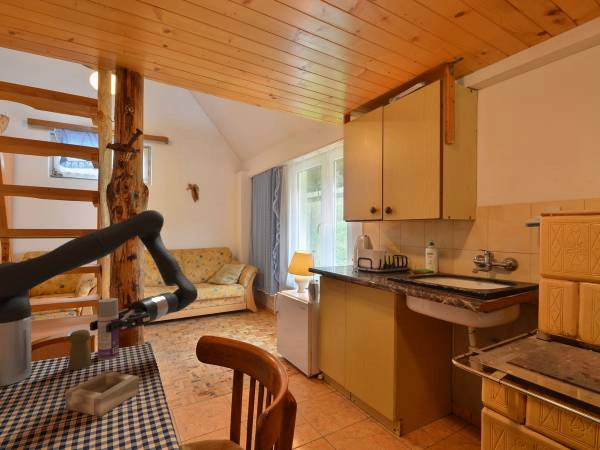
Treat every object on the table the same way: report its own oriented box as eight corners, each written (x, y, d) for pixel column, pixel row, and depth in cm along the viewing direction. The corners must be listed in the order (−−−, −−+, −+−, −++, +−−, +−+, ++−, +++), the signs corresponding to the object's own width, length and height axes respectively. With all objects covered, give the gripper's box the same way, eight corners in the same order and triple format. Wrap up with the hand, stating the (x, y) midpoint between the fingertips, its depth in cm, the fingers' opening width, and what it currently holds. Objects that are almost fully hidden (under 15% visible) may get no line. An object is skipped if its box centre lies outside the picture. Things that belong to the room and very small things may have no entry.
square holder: (65, 408, 73) (65, 391, 73) (106, 385, 83) (106, 370, 83) (100, 416, 70) (100, 399, 70) (138, 391, 80) (138, 376, 80)
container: (113, 351, 84) (113, 297, 84) (122, 355, 81) (121, 299, 81) (94, 357, 80) (94, 300, 80) (102, 362, 77) (102, 303, 77)
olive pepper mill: (78, 371, 91) (79, 334, 92) (62, 369, 93) (62, 333, 93) (96, 362, 97) (96, 328, 97) (80, 361, 99) (80, 327, 99)
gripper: (130, 296, 96) (77, 311, 80) (168, 299, 92) (121, 315, 76) (130, 319, 96) (77, 339, 80) (168, 323, 92) (121, 345, 76)
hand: (99, 327), depth 78 cm, fingers closed on container, 4 cm apart
